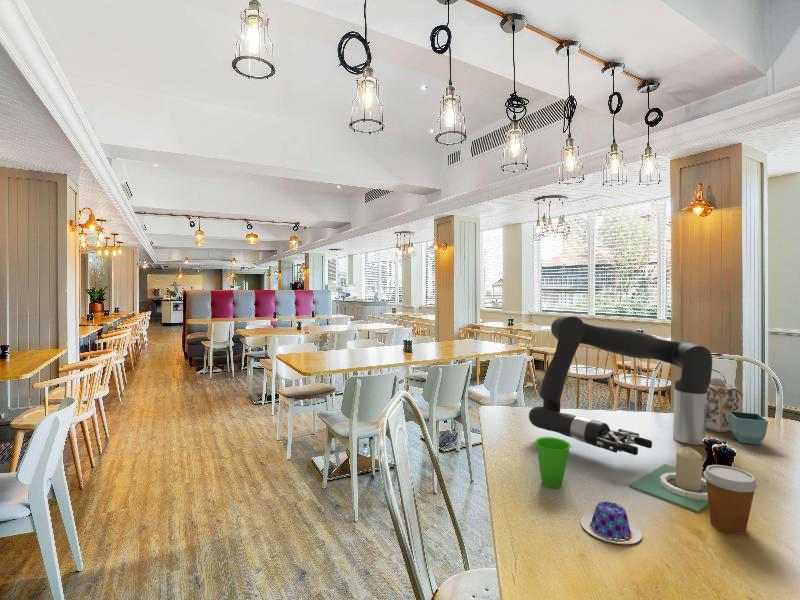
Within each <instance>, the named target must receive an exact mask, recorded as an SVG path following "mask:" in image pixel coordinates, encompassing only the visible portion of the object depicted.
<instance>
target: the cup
mask: <svg viewBox="0 0 800 600" xmlns="http://www.w3.org/2000/svg"><path fill="white" fill-rule="evenodd" d="M534 443H535V445H536V450H537V451H536V452H537V459H538V466H539V474H540V481H541V483H542V484H543V486H545V487H548V488H553V489H556V488H557V489H558V488H560V487H562V485H563V482H564V476H565V472H566V466H567V461H568V457H569V451H570V448H572V445H571V443H570V442H568V441H566V440H564V439H562V438H558V437H553V436H544V437H538V438H536V439H535V441H534Z"/></svg>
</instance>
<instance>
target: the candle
mask: <svg viewBox="0 0 800 600" xmlns="http://www.w3.org/2000/svg"><path fill="white" fill-rule="evenodd" d="M675 464H676V465H675V467H676V485H677V486H678V487H680V488H682V489H684V490H688V491H700V490H701V476H702V471H703V470H702V469H703V456H702V455H701V454H700V453H699V452H698V451H697V450H695V449H694V448H693V447H692V448H691V447H689V446H683V447H682V448H680V449H679V450H677V451H676V463H675Z"/></svg>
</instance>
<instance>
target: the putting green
mask: <svg viewBox="0 0 800 600" xmlns="http://www.w3.org/2000/svg"><path fill="white" fill-rule="evenodd" d="M628 488H632V489H633V490H637V491H639V492H642V493H644V494H647V495H649V496H652V497H655V498H658V499H661V500H662V501H666V502H669V503H671V504H673V505H677V506H679V507H681V508H684V509H686V510H689V511H692V512H695V513H698V514H699V513H700V512H701V511H703V510H704V509H705V508H706V507H707V506H708V507H709V503H708V494H707V485H706V479H705V476H704V475H701V490H700V491H688V490H684V489H682V488H680V487H678V486H677V485H676V466H671V465H669V464H666V463H664V464H663V465H661V466H659V467H656V468H654V470H652V471H650V472H648V473H646V474H645V475H643V476H642V477H640V478H638V479H636V480H634V481H633V482H631V483H630V484H628Z"/></svg>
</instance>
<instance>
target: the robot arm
mask: <svg viewBox="0 0 800 600" xmlns="http://www.w3.org/2000/svg"><path fill="white" fill-rule="evenodd" d="M550 330H551V331H550V332H551V333H552V335H553V337H554V339H556V340H557V344H556V348H555V352H554V354H553V357H552V359H551V361H550V363H549V365H548V366H547V368H546V371H545V373H544V376H543V379H542V383H541V384H540V385H541V387H540V390H539V397H540V398H541V399H542V400H543V401H542V402H543V403H542V406H541V405H539V406H535V407H533V408H531V409H530V410H529V413H528V420H529V422H530V423H531V425H532V426H534V427H536V428H538V429H541V430H546V431H550V432H554V433H558V434H560V435H562V436H566V437H568V438H571V439H574V440H576V441H579V442H580V443H581V442H582V443H585V444H587V445H591V446H594V447H596V448H600V449H603V450H606V451H609V452H612V453H615V454H616V453H618V452H620V453H623V452H624V453H627V454H630V455H633V456H637V455H639V447H638V446H640V447H644V448H647V449H651V448H652V447H653V441H652V439H648V438H644V437H641V436H640V433H638V432H634V431H629V430H626V429H622V428H618V430H611V429H610V426H609V425H608V423H607V422H602V421H599V420H595V419H592V418H588V417H583V416H578V415H573V414H571V413H564V412H561V398H562V395H563V391H564V389H565V385H566V384H565V383H566V382H567V381H566V380H567V377H568V374H569V371H570V368H571V365H572V363H573V359H574V357H575V355H576V352H577V350H578V348H579V346H580V344H581V345H587V346H591V347H594V348H596V349H600V350H603V351H605V352H609V353H613V354H616V355H619V356H624V357H629V358H634V359H642V360H643V359H644V360H645V359H646V360H647V359H648V360H656V361H661V362H664V363H667V364H670V365H673V366H675V367H678V368H680V369H681V376H680V378H678V379H676V380H675V381H674V382H675V383H674V391H673V393H674V397H673V398H674V400H673V425H672V439H673V440H674V441H677V442H680V443H682V444H687V445H693V446H703V445H704V444H703V439H704V438H705V439H706V436H707V435H706V432H707V428H706V411H707V389H708V387H709V385H710V382H711V378H712V374H713V373H712V372H713V356H712V353H711V351H710V350H709V349H708V348H707V347H706V346H704V345H702V344H696V343H692V342H686V341H685V342H684V341H672V340H667V339H662V338H657V337H655V336H654V335H653V336H652V334H648V333H645V332H640V331H638V330H635V329H634V330H633V329H628V328H623V327H618V326H617V327H616V326H606V325H595V324H591V323H588V322H587V323H586V322H584V321H583V320H582V319H581V318H579V316H575V315H564V316H560V317H557V318H556V319H554V320H553V321H552V323H551V326H550ZM636 445H637V446H636Z"/></svg>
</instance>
